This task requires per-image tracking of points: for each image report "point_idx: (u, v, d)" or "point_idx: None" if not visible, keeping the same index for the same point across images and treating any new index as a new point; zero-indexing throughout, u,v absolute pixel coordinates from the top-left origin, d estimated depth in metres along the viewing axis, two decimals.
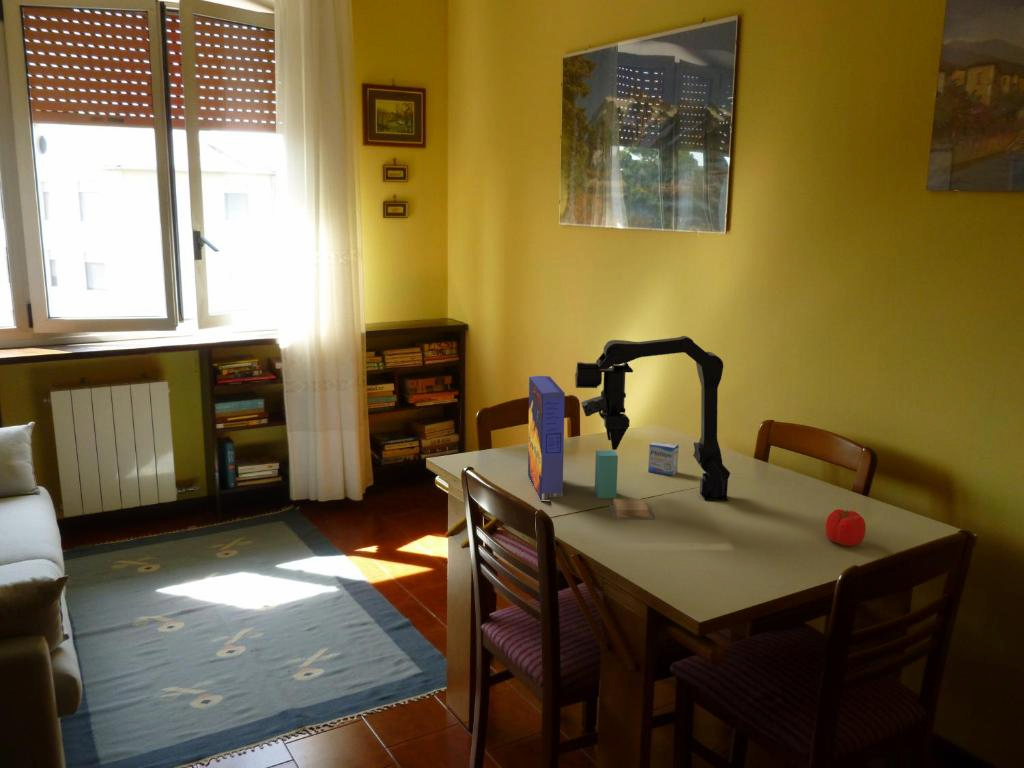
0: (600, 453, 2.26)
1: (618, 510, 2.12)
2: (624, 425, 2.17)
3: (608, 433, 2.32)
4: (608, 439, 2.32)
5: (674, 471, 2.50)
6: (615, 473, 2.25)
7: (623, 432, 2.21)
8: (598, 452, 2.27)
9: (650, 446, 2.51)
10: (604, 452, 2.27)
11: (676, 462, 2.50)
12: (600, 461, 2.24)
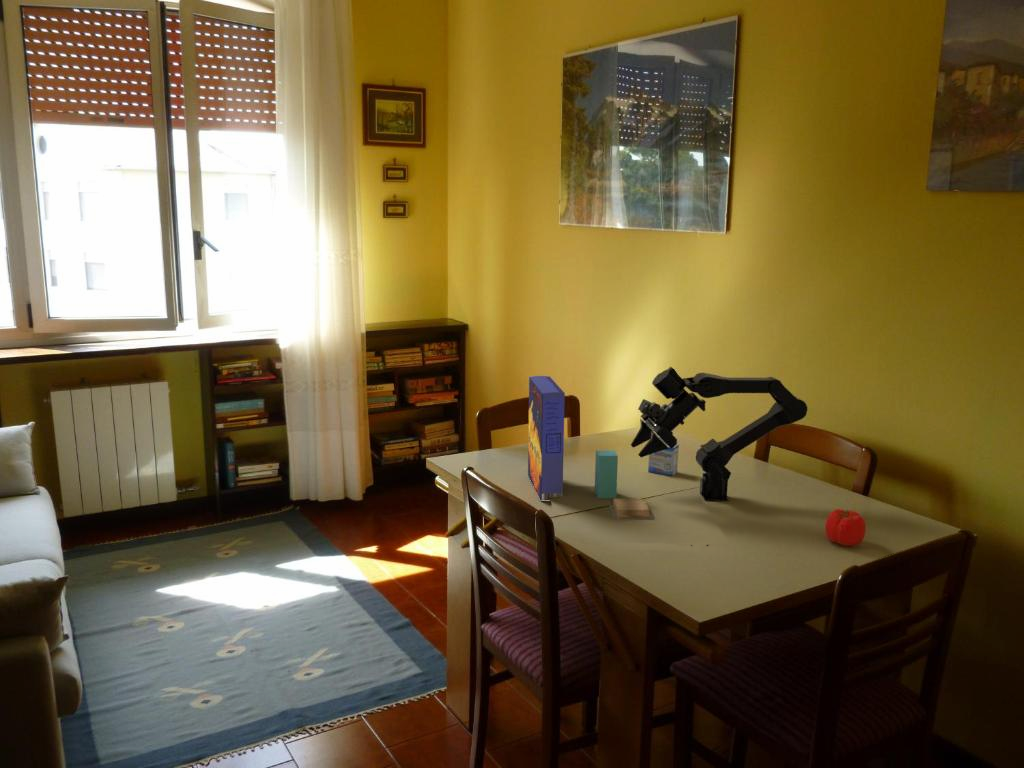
0: (600, 453, 2.26)
1: (618, 510, 2.12)
2: (670, 444, 2.17)
3: (635, 440, 2.31)
4: (631, 444, 2.31)
5: (674, 471, 2.50)
6: (615, 473, 2.25)
7: (660, 449, 2.21)
8: (598, 452, 2.27)
9: None
10: (604, 452, 2.27)
11: (676, 462, 2.50)
12: (600, 461, 2.24)
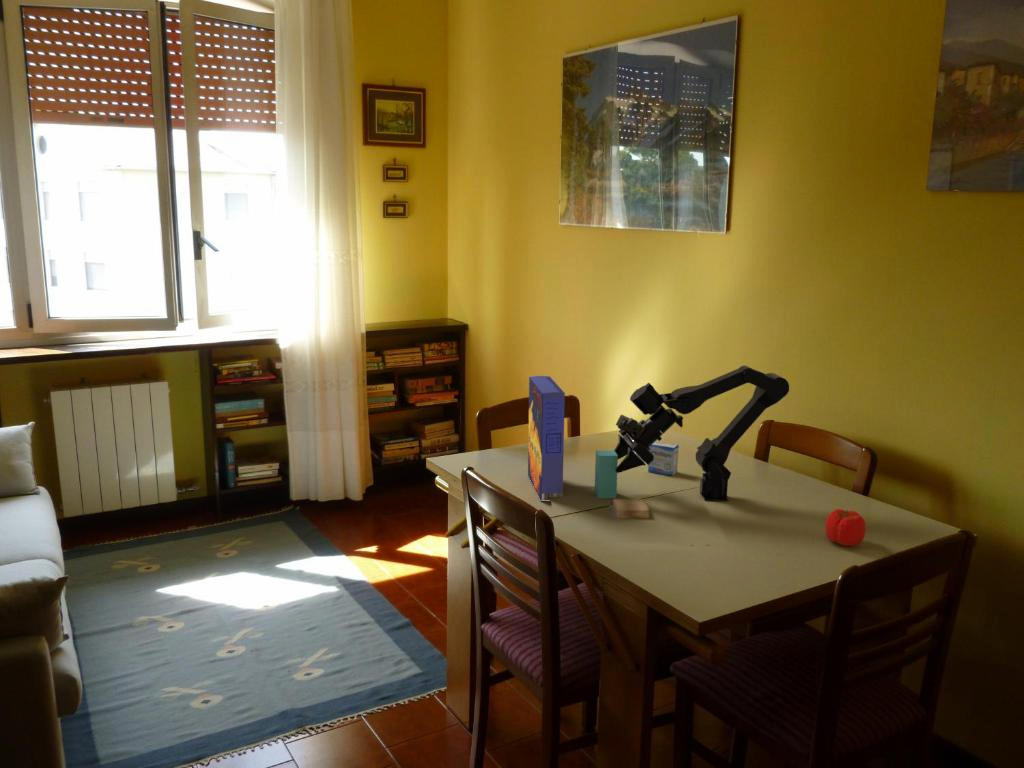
0: (600, 453, 2.26)
1: (618, 510, 2.12)
2: (646, 461, 2.18)
3: None
4: None
5: (674, 471, 2.50)
6: (615, 473, 2.25)
7: (637, 465, 2.21)
8: (598, 452, 2.27)
9: (650, 446, 2.51)
10: (604, 452, 2.27)
11: (676, 462, 2.50)
12: (600, 461, 2.24)
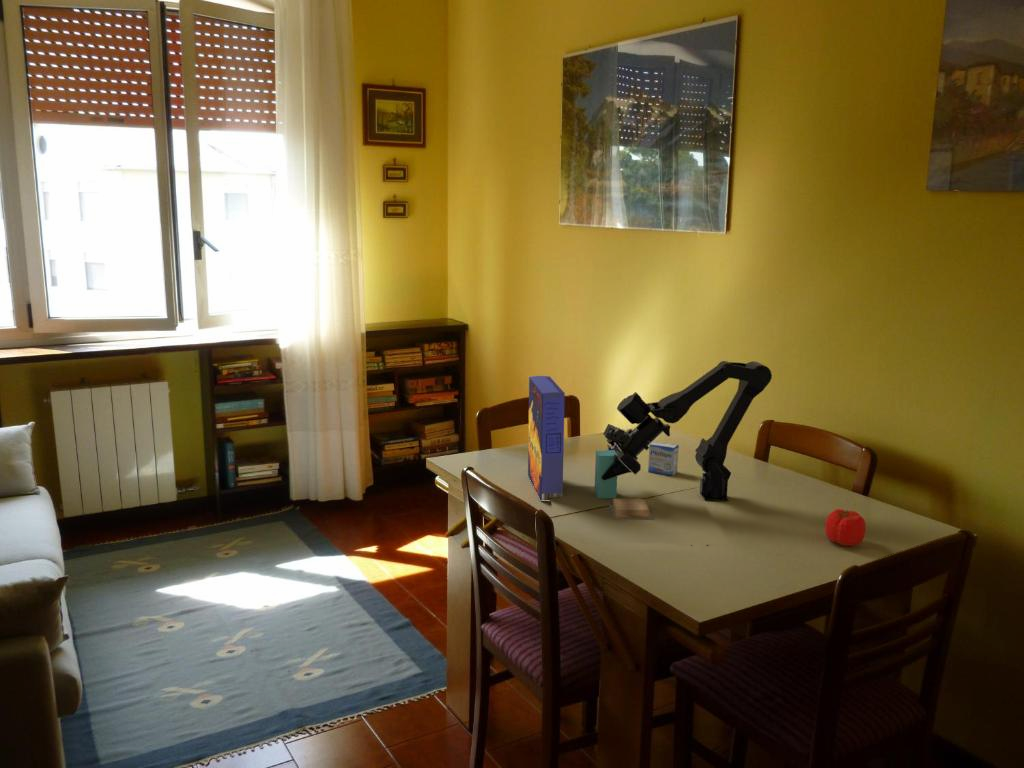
0: (600, 453, 2.26)
1: (617, 510, 2.12)
2: (633, 470, 2.18)
3: None
4: None
5: (674, 471, 2.50)
6: None
7: (623, 472, 2.23)
8: (598, 452, 2.27)
9: (650, 446, 2.51)
10: (604, 452, 2.26)
11: (676, 462, 2.50)
12: (600, 461, 2.24)
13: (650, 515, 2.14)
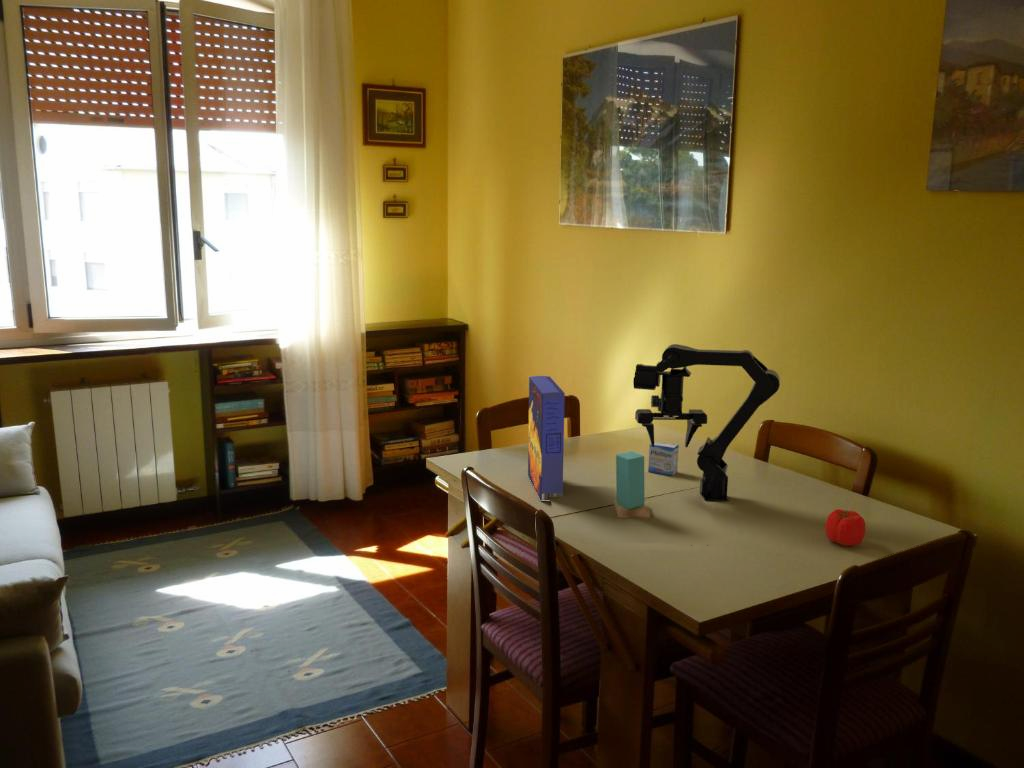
0: (625, 456, 2.12)
1: (619, 511, 2.12)
2: (637, 420, 2.29)
3: (685, 439, 2.33)
4: (685, 445, 2.33)
5: (674, 471, 2.50)
6: (642, 475, 2.13)
7: None
8: (621, 456, 2.12)
9: (650, 446, 2.51)
10: (627, 455, 2.13)
11: (676, 462, 2.50)
12: (629, 465, 2.10)
13: None
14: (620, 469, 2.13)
